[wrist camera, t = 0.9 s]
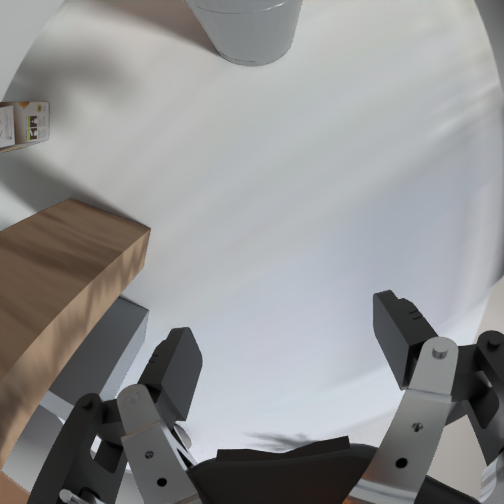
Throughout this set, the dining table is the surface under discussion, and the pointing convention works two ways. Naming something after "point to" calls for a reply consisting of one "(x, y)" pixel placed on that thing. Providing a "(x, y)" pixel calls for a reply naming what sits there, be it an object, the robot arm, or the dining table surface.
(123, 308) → the pedestal
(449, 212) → the dining table surface
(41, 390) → the stand
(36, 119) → the coffee box
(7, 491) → the block
